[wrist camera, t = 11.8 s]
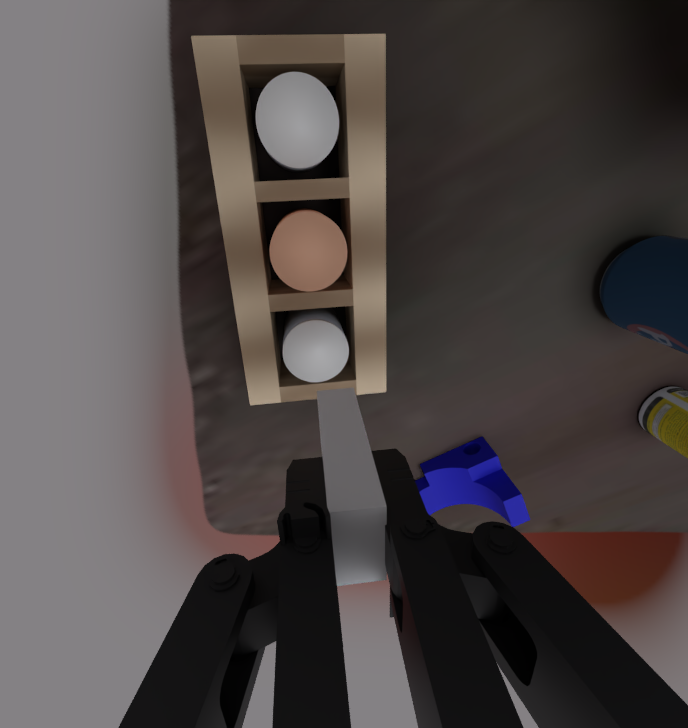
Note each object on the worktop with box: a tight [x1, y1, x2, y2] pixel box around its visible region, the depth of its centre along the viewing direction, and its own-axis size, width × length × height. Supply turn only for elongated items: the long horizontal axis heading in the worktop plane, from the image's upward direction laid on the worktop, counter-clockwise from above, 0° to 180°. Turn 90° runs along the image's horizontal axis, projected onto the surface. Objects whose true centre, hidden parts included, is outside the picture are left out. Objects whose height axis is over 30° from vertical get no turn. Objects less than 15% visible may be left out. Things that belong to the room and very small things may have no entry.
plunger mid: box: [269, 208, 347, 292], centre depth 23 cm, size 4×4×5 cm
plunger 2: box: [283, 307, 349, 382], centre depth 26 cm, size 4×4×5 cm
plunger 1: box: [256, 72, 339, 173], centre depth 21 cm, size 4×4×5 cm
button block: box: [191, 34, 386, 405], centre depth 24 cm, size 19×9×4 cm, turn 3°
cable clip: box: [415, 437, 530, 527], centre depth 33 cm, size 12×4×6 cm, turn 115°
